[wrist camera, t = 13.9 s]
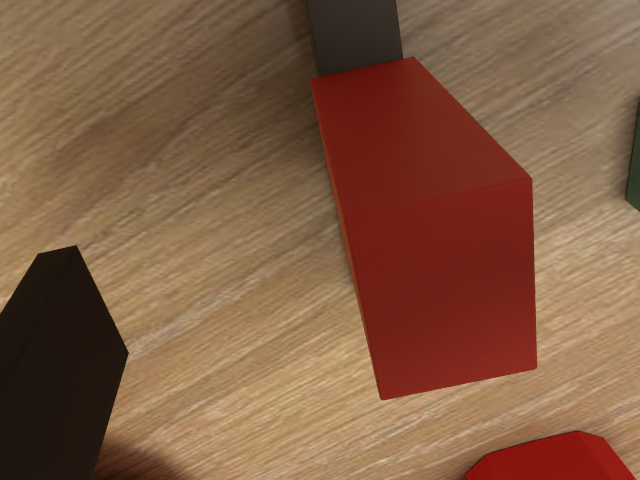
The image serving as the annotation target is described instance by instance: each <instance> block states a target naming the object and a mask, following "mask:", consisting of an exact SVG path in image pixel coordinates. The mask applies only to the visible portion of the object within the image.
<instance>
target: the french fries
mask: <svg viewBox="0 0 640 480" xmlns="http://www.w3.org/2000/svg"><path fill="white" fill-rule="evenodd" d="M465 475H466V479H467V480H636V479H635V477H634V476H633V475H632V473H631V472H630V471H629V470H628V468H627V467H626V466H625V465H624V463H623V462H622V461H621V460H620V458H619V457H618V456H617V454H616V453H615V452H614V451H613V449H612V448H611V447H610V446H609V444H608V443H607V442H606V440H605V439H604V438H601V437H597V436H593V435H590V434H586V433H582V432H579V431H576V432H571V433H567V434H562V435H558V436H553V437H549V438H545V439H541V440H537V441H533V442H530V443H526V444H522V445H519V446H515V447H511V448H508V449H504V450H501V451H498V452H494V453H491V454H488V455H486V456H485V457H484V458H483V459H482V460H481V461H479V462H478V463H477V464H476V465H475V466H474V467H473V468H472V469H471V470H470V471H468V472H467V473H466V474H465Z"/></svg>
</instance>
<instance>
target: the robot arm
mask: <svg viewBox="0 0 640 480" xmlns="http://www.w3.org/2000/svg"><path fill="white" fill-rule="evenodd" d="M128 354H129V352H128V350H127V348H126V346H125V344H124V342H123V340H122V338H121V336H120V334H119V331H118V329H117V327H116V325H115V323H114V321H113V319H112V317H111V315H110V313H109V311H108V309H107V307H106V305H105V303H104V301H103V299H102V297H101V294H100V292H99V290H98V288H97V286H96V284H95V282H94V280H93V278H92V276H91V274H90V272H89V270H88V268H87V266H86V264H85V262H84V259H83V257H82V255H81V253H80V251H79V249H78V247H77V245H75V246H70V247H66V248H61V249H57V250H52V251H48V252H43V253H39V254H37V256H36V258H35V259H34V261H33V262H32V264H31V266H30V267H29V269H28V270H27V272H26V274H25V275H24V277H23V279H22V280H21V282H20V283H19V285H18V287H17V288H16V290H15V291H14V293H13V295H12V296H11V298H10V299H9V301H8V303H7V304H6V306H5V307H4V309H3V311H2V312H1V314H0V480H92V477H93V473H94V470H95V466H96V463H97V460H98V456H99V453H100V449H101V446H102V443H103V439H104V436H105V432H106V429H107V426H108V422H109V419H110V415H111V412H112V408H113V405H114V402H115V398H116V395H117V391H118V388H119V385H120V381H121V378H122V374H123V371H124V368H125V364H126V361H127V357H128Z"/></svg>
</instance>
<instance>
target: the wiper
mask: <svg viewBox="0 0 640 480" xmlns="http://www.w3.org/2000/svg"><path fill="white" fill-rule="evenodd" d="M302 1H303V6H304V11H305V16H306V21H307V26H308V31H309V36H310V41H311V46H312V51H313V56H314V61H315V66H316V71H317V76H318V78H314V79H311V80H310V85H311V90H312V95H313V100H314V104H315V109H316V114H317V119H318V123H319V128H320V133H321V138H322V143H323V147H324V152H325V157H326V162H327V166H328V171H329V176H330V181H331V186H332V190H333V195H334V200H335V205H336V209H337V213H338V218H339V222H340V226H341V231H342V235H343V239H344V244H345V248H346V252H347V257H348V261H349V265H350V270H351V274H352V278H353V283H354V287H355V291H356V296H357V300H358V305H359V309H360V313H361V318H362V322H363V326H364V331H365V335H366V339H367V344H368V348H369V352H370V357H371V361H372V365H373V370H374V374H375V378H376V383H377V387H378V391H379V396H380V398H381V400H388V399H392V398H397V397H402V396H407V395H412V394H417V393H422V392H427V391H432V390H436V389H441V388H446V387H451V386H456V385H461V384H466V383H471V382H475V381H480V380H485V379H490V378H495V377H500V376H505V375H510V374H514V373H519V372H524V371H529V370H534V369H536V368H537V346H536V307H535V269H534V230H533V191H532V178H531V177H530V175H529V174H528V173H527V172H526V171H525V170H524V169H523V168H522V167H521V166H520V165H519V164H518V163H517V162H516V161H515V160H514V159H513V158H512V157H511V156H510V155H509V154H508V153H507V152H506V151H505V150H504V149H503V148H502V147H501V146H500V145H499V144H498V143H497V142H496V141H495V140H494V138H493V137H492V136H491V135H490V134H489V133H488V132H487V131H486V130H485V129H484V128H483V127H482V126H481V125H480V124H479V123H478V122H477V121H476V120H475V119H474V118H473V117H472V116H471V115H470V114H469V113H468V112H467V111H466V110H465V109H464V108H463V107H462V106H461V105H460V104H459V102H458V101H457V100H456V99H455V98H454V97H453V96H452V95H451V94H450V93H449V92H448V91H447V90H446V89H445V88H444V87H443V86H442V85H441V84H440V83H439V82H438V81H437V80H436V79H435V78H434V77H433V76H432V75H431V74H430V73H429V72H428V71H427V70H426V69H425V68H424V66H423V65H422V64H421V63H420V62H419V61H418V60H417V59H416V58H415V57H409V58H404V59H403V53H402V45H401V37H400V30H399V22H398V14H397V6H396V0H302Z"/></svg>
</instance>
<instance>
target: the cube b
mask: <svg viewBox="0 0 640 480" xmlns="http://www.w3.org/2000/svg"><path fill="white" fill-rule="evenodd" d="M626 201H627V202H628V203H630V204H631V205H632V206H633V207H634V208H636V209H637V210H638V211H639V212H640V106H639V113H638V120H637V127H636V133H635V140H634V147H633V154H632V161H631V168H630V175H629V182H628V189H627V195H626Z"/></svg>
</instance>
